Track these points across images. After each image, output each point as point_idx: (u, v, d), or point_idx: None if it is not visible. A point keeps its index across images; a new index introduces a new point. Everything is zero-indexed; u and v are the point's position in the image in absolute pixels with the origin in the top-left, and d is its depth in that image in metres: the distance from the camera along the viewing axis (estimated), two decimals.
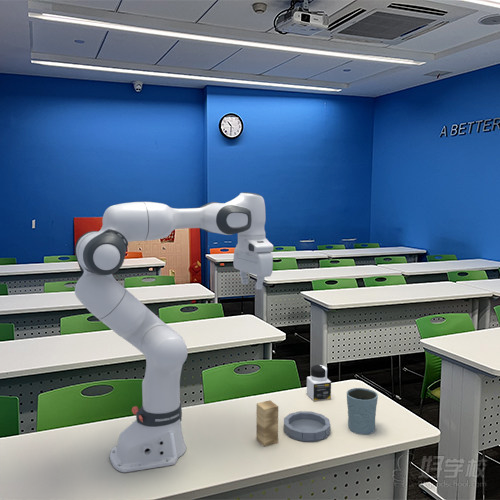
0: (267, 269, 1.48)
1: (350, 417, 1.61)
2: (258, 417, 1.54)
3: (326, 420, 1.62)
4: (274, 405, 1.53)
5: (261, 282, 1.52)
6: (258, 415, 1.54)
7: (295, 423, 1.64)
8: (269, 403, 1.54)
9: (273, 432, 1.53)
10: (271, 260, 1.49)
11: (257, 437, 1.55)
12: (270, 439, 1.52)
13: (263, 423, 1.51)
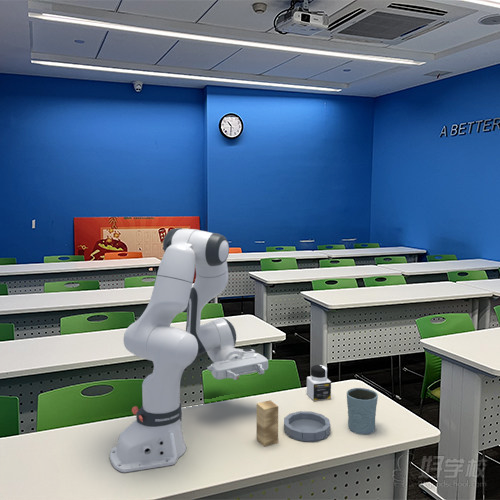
0: None
1: (350, 417, 1.61)
2: (258, 417, 1.54)
3: (326, 420, 1.62)
4: (274, 405, 1.53)
5: None
6: (258, 415, 1.54)
7: (295, 423, 1.64)
8: (269, 403, 1.54)
9: (273, 432, 1.53)
10: None
11: (257, 437, 1.55)
12: (270, 439, 1.52)
13: (263, 423, 1.51)
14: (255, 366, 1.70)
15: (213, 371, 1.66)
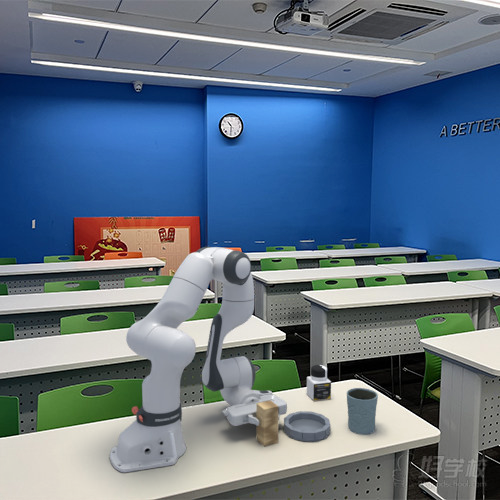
0: None
1: (350, 417, 1.61)
2: (258, 417, 1.54)
3: (326, 420, 1.62)
4: (274, 405, 1.53)
5: None
6: (258, 415, 1.54)
7: (295, 423, 1.64)
8: (269, 403, 1.54)
9: (273, 432, 1.53)
10: None
11: (257, 437, 1.55)
12: (270, 439, 1.52)
13: (263, 423, 1.51)
14: None
15: (229, 416, 1.55)
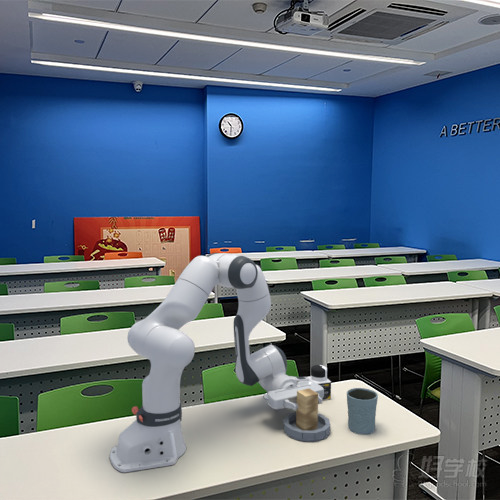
0: None
1: (350, 417, 1.61)
2: (298, 404, 1.61)
3: (326, 420, 1.62)
4: (314, 393, 1.60)
5: None
6: (298, 402, 1.61)
7: (295, 423, 1.64)
8: (309, 391, 1.61)
9: (312, 418, 1.59)
10: None
11: (297, 423, 1.62)
12: (310, 425, 1.59)
13: (304, 410, 1.58)
14: None
15: (270, 400, 1.62)
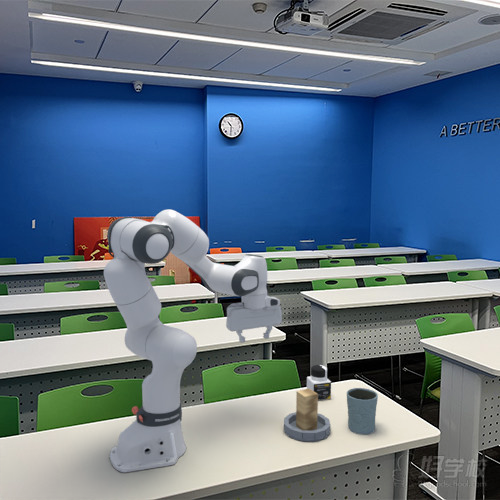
0: None
1: (350, 417, 1.61)
2: (298, 404, 1.61)
3: (326, 420, 1.62)
4: (314, 393, 1.60)
5: None
6: (298, 402, 1.61)
7: (295, 423, 1.64)
8: (308, 391, 1.61)
9: (312, 418, 1.59)
10: None
11: (297, 424, 1.62)
12: (310, 425, 1.59)
13: (304, 410, 1.58)
14: None
15: (228, 322, 1.64)
